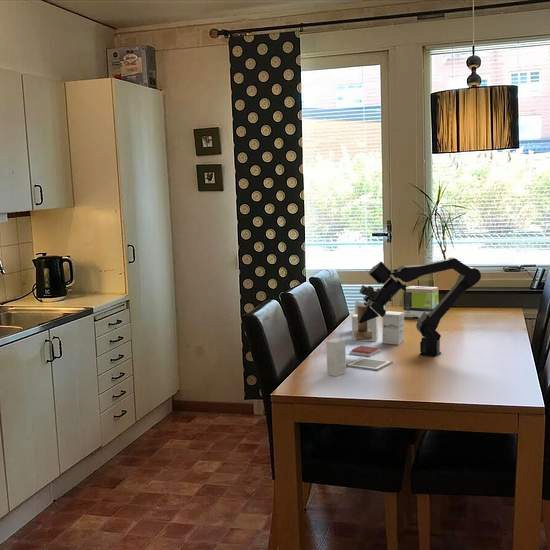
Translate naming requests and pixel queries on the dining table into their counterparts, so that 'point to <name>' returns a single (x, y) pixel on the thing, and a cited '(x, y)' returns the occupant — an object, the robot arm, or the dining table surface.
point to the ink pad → (365, 351)
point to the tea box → (419, 300)
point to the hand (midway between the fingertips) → (358, 321)
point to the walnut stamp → (362, 325)
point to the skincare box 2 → (371, 325)
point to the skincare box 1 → (336, 357)
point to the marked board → (369, 364)
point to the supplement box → (393, 327)
